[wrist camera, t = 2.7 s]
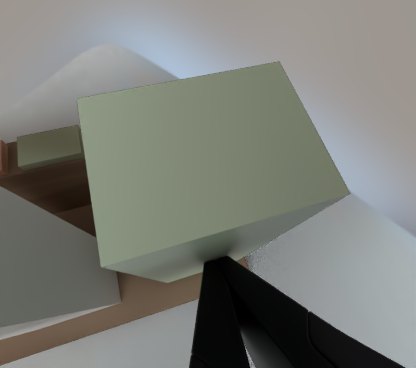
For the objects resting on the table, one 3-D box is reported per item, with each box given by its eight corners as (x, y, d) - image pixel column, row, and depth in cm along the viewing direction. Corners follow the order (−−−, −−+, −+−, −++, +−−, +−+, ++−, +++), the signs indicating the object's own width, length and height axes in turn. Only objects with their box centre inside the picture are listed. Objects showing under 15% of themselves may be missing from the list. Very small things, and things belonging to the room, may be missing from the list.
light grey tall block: (121, 302, 13) (-114, 351, 3) (39, 329, 12) (-625, 508, 2) (112, 246, 14) (-86, 140, 4) (35, 267, 14) (-432, 205, 3)
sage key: (237, 260, 14) (351, 193, 4) (167, 283, 14) (100, 267, 4) (220, 211, 15) (279, 61, 5) (155, 229, 15) (76, 99, 5)
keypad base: (248, 280, 15) (286, 276, 9) (-105, 399, 12) (-393, 508, 6) (207, 157, 18) (214, 93, 12) (-86, 228, 15) (-266, 189, 9)
